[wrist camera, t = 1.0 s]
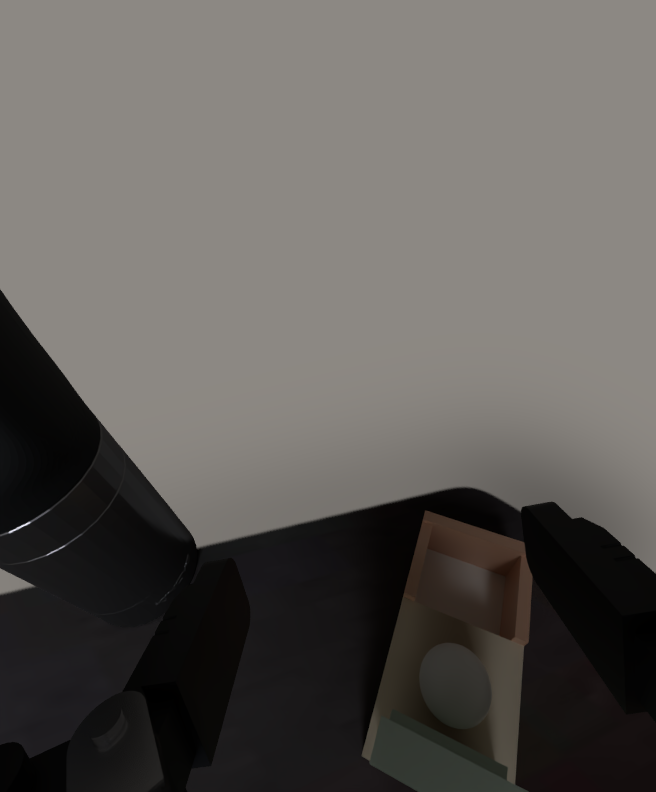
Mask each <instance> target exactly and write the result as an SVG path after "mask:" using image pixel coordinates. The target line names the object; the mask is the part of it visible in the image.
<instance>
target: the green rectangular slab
mask: <svg viewBox="0 0 656 792" xmlns="http://www.w3.org/2000/svg"><path fill="white" fill-rule="evenodd" d="M369 764H370V765H372V766H374V767H376V768H377V769H379V770H381V771H383V772H385V773H386V774H388V775H390V776H392V777H393V778H395V779H397V780H399V781H400V782H402V783H404V784H406V785H407V786H409V787H411V788H413V789H414V790H416V791H418V792H528V791H526V790H524V789H522V788H520V787H518V786H516V785H515V784H513V783H511V782H509V781H507V771H508V767H506V766H504V765H502V764H500V763H498V762H497V761H495V760H493V759H491V758H489V757H487V756H485V755H483V754H481V753H479V752H477V751H475V750H473V749H471V748H469V747H467V746H465V745H463V744H461V743H459V742H457V741H455V740H453V739H451V738H449V737H447V736H445V735H443V734H441V733H439V732H438V731H436V730H434V729H432V728H430V727H428V726H426V725H424V724H422V723H420V722H418V721H416V720H414V719H412V718H410V717H408V716H406V715H404V714H402V713H400V712H398V711H396V710H394V709H392V711H391V714H390V719H387V718H386V717H384V716H382V715H381V719H380V722H379V726H378V730H377V734H376V738H375V742H374V746H373V750H372V754H371V758H370V763H369Z"/></svg>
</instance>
